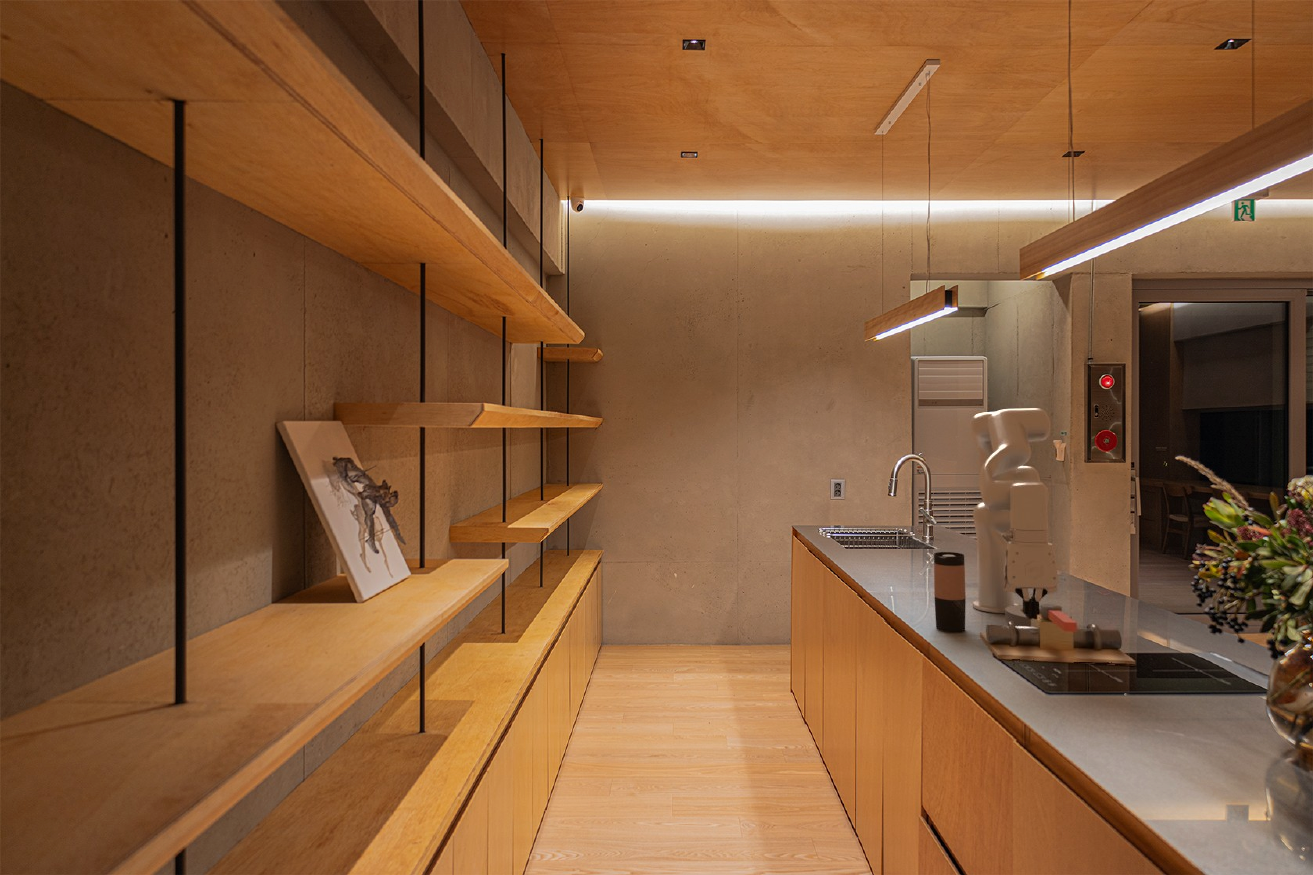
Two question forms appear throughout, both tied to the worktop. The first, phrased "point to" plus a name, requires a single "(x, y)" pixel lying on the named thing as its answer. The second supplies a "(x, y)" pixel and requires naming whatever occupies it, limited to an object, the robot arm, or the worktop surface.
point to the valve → (1053, 636)
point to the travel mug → (949, 591)
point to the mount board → (1057, 653)
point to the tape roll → (1021, 615)
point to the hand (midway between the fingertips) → (1031, 617)
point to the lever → (1058, 617)
